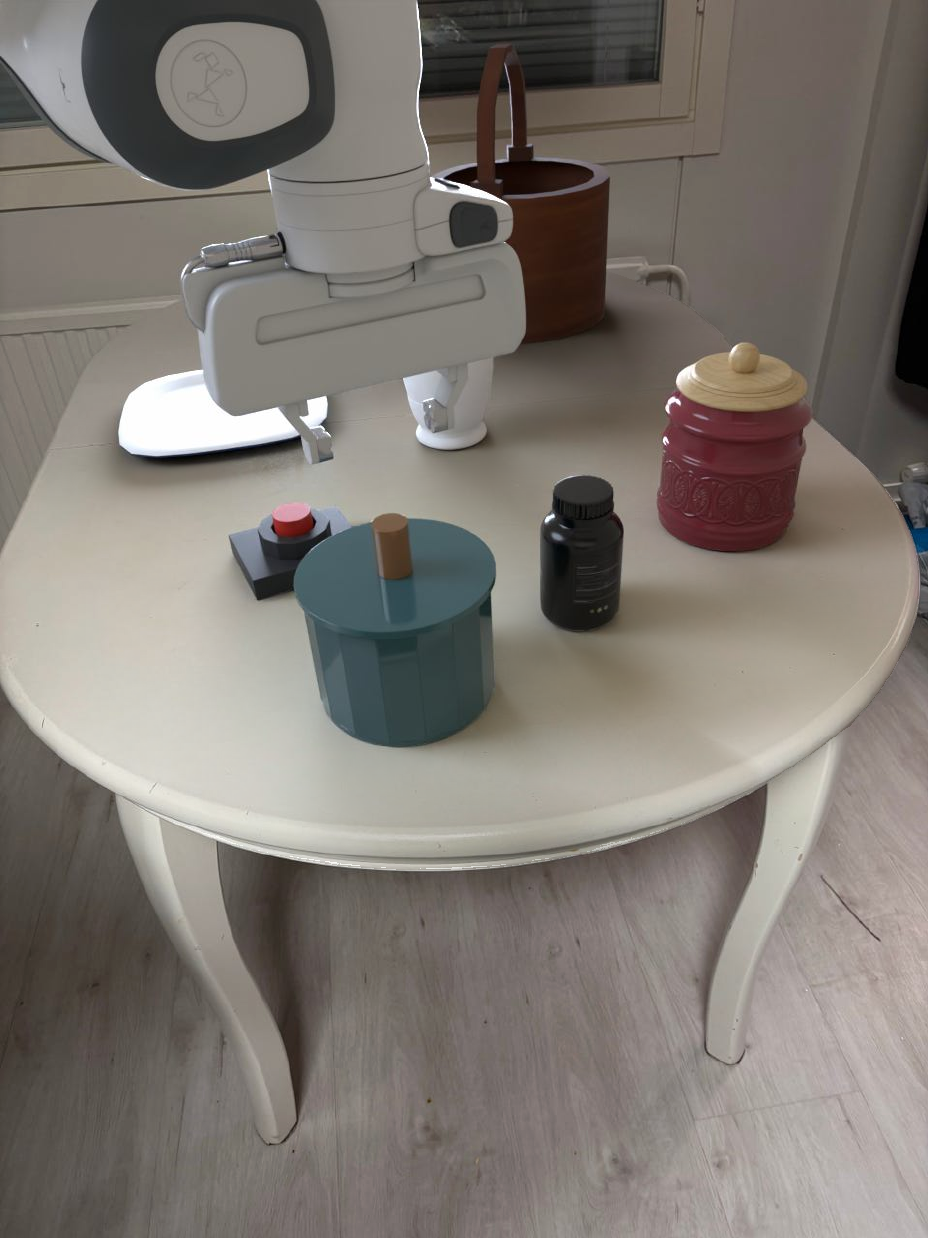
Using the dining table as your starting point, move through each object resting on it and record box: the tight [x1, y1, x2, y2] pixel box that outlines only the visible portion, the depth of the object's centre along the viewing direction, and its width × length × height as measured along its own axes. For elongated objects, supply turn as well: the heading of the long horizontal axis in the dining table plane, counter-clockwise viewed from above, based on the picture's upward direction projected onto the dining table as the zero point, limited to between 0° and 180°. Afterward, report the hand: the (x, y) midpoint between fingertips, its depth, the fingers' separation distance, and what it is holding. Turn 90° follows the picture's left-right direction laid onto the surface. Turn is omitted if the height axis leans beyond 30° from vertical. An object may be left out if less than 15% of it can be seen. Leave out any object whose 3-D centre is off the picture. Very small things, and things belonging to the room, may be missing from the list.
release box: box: [228, 505, 353, 601], centre depth 88 cm, size 11×9×4 cm
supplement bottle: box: [539, 474, 625, 632], centre depth 77 cm, size 7×7×12 cm
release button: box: [271, 501, 313, 537], centre depth 86 cm, size 4×4×2 cm
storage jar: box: [303, 592, 496, 748], centre depth 70 cm, size 14×14×10 cm
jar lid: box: [293, 512, 497, 639], centre depth 66 cm, size 15×15×5 cm
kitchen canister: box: [656, 342, 814, 552], centre depth 86 cm, size 13×13×18 cm
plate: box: [117, 369, 329, 459], centre depth 116 cm, size 25×25×2 cm
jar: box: [402, 357, 494, 451], centre depth 104 cm, size 11×10×15 cm
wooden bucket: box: [430, 42, 611, 344], centre depth 131 cm, size 26×26×35 cm
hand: (380, 443), depth 61 cm, fingers open, 7 cm apart
